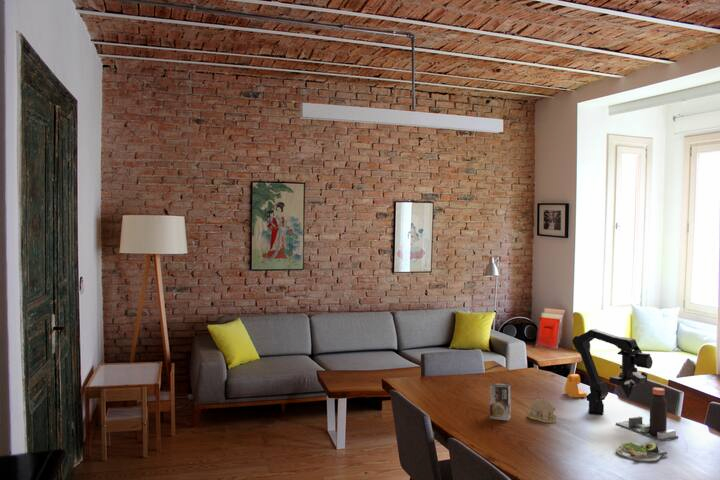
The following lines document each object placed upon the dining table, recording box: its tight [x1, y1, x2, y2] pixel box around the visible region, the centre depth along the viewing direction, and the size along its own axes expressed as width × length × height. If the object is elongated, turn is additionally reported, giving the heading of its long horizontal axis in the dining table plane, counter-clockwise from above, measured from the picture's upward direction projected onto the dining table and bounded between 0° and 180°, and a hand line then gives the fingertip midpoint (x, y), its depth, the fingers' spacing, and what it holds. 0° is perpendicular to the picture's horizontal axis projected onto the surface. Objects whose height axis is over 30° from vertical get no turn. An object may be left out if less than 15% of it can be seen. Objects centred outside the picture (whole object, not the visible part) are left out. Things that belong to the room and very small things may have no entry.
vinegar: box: [649, 387, 668, 435], centre depth 271 cm, size 7×7×20 cm
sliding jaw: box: [628, 416, 650, 432], centre depth 278 cm, size 10×9×4 cm
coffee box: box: [489, 382, 512, 421], centre depth 294 cm, size 9×6×16 cm
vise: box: [615, 420, 679, 442], centre depth 276 cm, size 24×11×3 cm, turn 24°
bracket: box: [563, 373, 588, 398], centre depth 335 cm, size 11×7×12 cm, turn 13°
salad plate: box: [614, 441, 668, 463], centre depth 246 cm, size 19×18×5 cm
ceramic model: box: [526, 397, 557, 424], centre depth 294 cm, size 14×11×10 cm
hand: (627, 397), depth 291 cm, fingers closed
